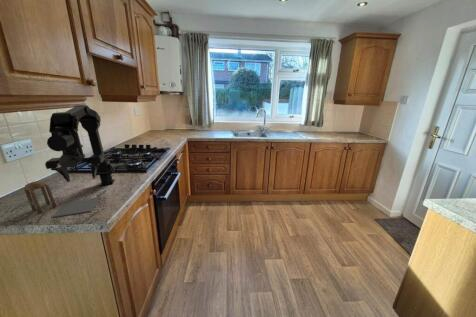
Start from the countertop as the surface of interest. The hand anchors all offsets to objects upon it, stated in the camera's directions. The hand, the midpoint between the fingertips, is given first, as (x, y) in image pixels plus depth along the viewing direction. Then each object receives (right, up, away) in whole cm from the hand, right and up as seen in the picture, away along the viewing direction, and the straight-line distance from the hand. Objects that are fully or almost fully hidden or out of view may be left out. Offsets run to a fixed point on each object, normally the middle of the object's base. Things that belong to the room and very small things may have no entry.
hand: (81, 180), depth 86 cm
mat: (-7, -13, +6) cm, 16 cm away
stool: (-21, -14, +5) cm, 26 cm away
